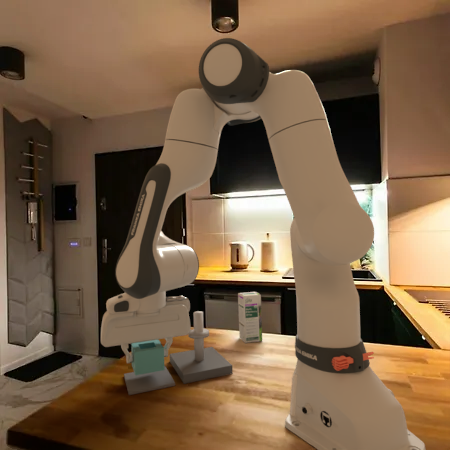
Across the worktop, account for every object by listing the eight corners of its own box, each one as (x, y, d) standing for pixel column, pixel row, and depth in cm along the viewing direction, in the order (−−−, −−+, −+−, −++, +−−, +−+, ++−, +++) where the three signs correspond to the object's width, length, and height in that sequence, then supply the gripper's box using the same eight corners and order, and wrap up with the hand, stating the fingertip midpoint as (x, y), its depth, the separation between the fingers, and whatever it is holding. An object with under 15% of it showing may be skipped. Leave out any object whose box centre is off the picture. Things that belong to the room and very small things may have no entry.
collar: (164, 370, 75) (164, 347, 75) (135, 375, 72) (135, 352, 72) (158, 360, 81) (158, 339, 81) (131, 364, 78) (131, 343, 78)
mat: (175, 385, 74) (175, 382, 74) (128, 395, 70) (128, 392, 70) (165, 368, 83) (165, 366, 83) (124, 376, 79) (124, 373, 79)
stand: (232, 373, 79) (231, 315, 79) (183, 383, 75) (182, 322, 75) (212, 353, 92) (211, 304, 92) (169, 361, 88) (168, 309, 88)
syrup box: (244, 343, 100) (243, 295, 100) (238, 337, 105) (237, 292, 106) (262, 341, 101) (261, 294, 102) (255, 335, 107) (254, 290, 107)
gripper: (186, 292, 84) (187, 347, 83) (99, 301, 76) (100, 361, 75) (193, 297, 78) (194, 356, 78) (100, 306, 70) (101, 372, 70)
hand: (147, 359), depth 76 cm, fingers closed on collar, 6 cm apart
